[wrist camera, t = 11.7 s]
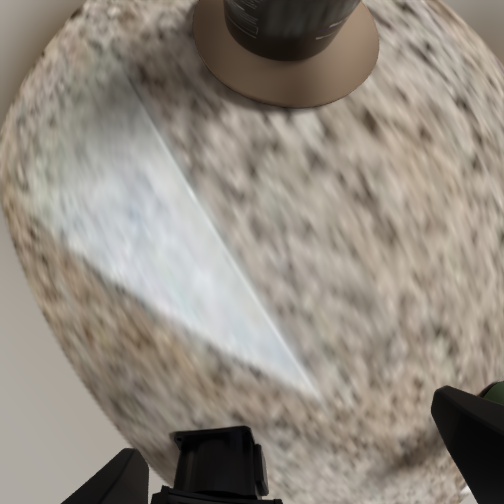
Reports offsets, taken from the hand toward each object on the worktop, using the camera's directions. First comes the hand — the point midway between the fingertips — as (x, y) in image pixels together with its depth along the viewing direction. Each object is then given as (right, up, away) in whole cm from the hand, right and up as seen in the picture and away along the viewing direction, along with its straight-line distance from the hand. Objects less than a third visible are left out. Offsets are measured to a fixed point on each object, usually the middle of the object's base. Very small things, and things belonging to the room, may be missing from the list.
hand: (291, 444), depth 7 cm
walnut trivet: (+1, +20, +8) cm, 21 cm away
